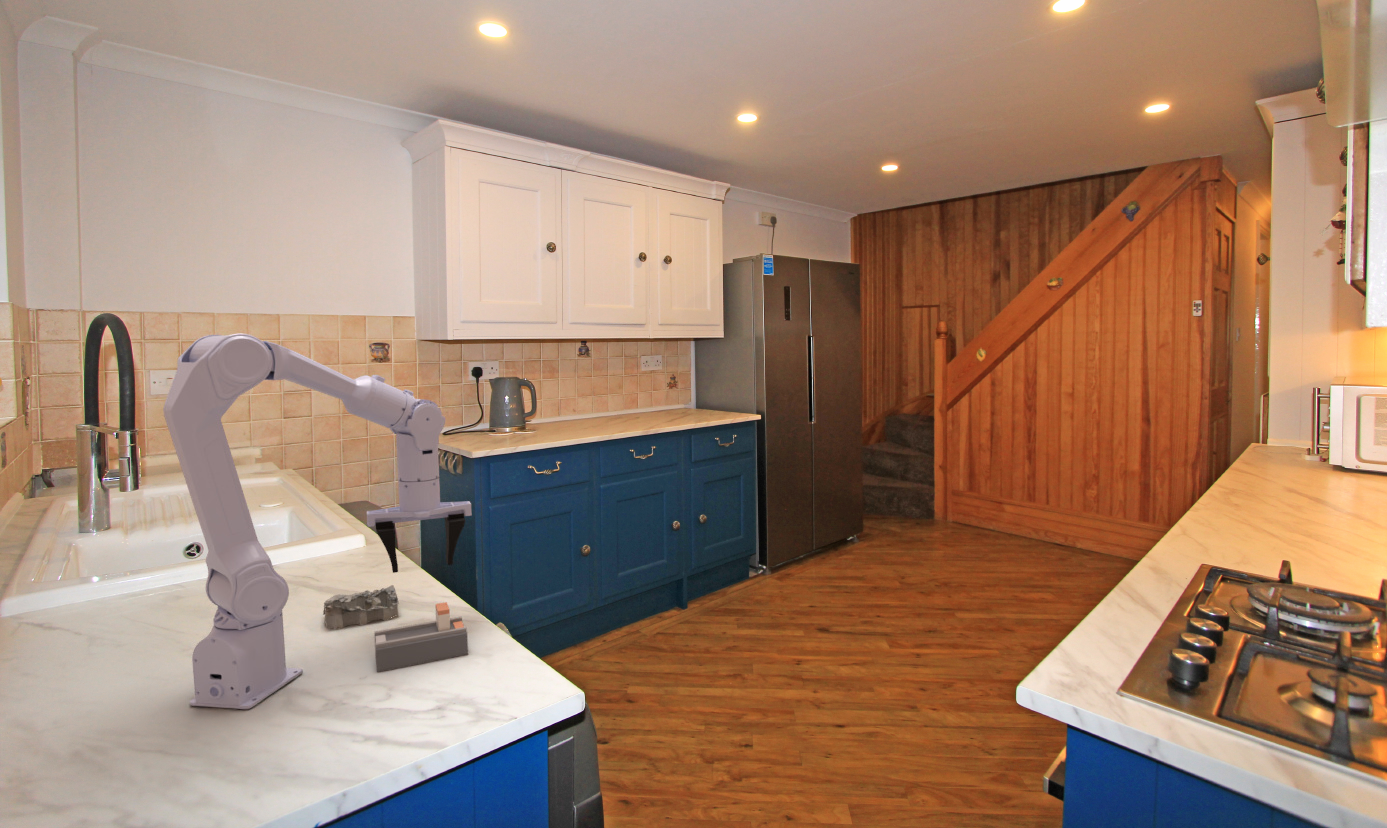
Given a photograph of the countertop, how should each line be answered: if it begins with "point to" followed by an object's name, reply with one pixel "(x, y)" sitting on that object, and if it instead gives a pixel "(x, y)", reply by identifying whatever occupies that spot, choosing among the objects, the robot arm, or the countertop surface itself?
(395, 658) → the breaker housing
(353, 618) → the egg carton
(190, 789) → the countertop surface
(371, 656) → the countertop surface
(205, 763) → the countertop surface
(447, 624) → the breaker handle
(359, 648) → the countertop surface
